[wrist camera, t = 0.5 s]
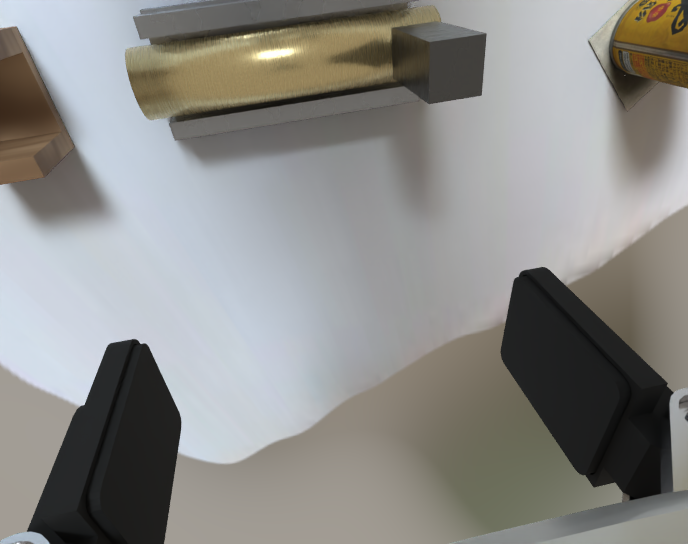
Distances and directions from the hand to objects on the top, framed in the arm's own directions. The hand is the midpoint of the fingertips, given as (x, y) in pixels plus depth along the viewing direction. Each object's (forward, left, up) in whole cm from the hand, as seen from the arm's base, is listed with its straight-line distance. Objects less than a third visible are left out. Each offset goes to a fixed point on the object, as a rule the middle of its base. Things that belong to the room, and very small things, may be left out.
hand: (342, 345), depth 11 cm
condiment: (0, +31, -28) cm, 42 cm away
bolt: (-3, +1, -27) cm, 28 cm away
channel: (-3, +1, -27) cm, 28 cm away
